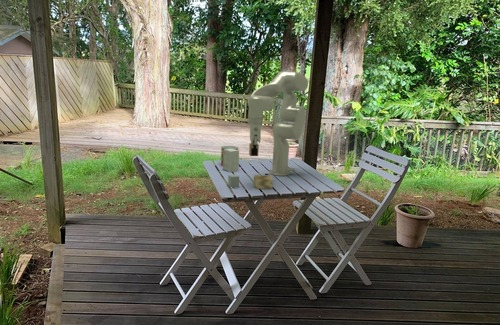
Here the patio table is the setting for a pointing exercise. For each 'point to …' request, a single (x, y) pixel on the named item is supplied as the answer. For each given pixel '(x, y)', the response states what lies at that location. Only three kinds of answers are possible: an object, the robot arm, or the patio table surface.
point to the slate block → (233, 180)
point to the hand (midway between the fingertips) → (253, 154)
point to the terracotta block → (251, 147)
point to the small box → (231, 160)
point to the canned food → (223, 151)
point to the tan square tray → (263, 182)
